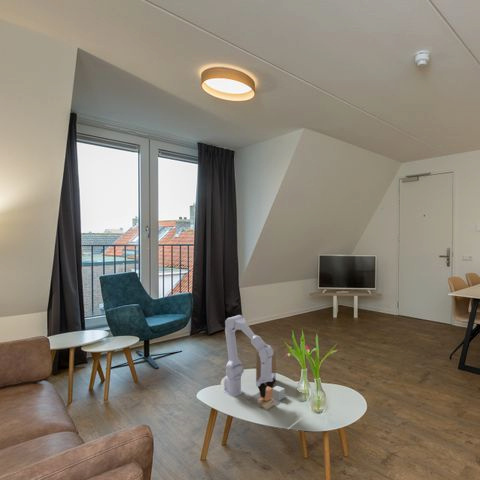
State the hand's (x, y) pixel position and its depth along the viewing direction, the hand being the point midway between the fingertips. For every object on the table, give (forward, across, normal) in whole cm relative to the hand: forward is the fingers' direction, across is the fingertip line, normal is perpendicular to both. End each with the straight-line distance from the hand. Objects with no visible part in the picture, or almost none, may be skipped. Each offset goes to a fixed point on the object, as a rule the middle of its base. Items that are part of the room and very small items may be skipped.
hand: (265, 394), depth 171 cm
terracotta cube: (+1, 0, 0) cm, 1 cm away
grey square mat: (+6, +6, +4) cm, 9 cm away
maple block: (+5, 0, 0) cm, 5 cm away
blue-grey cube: (+5, +11, 0) cm, 12 cm away
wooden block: (+6, +22, +17) cm, 28 cm away
